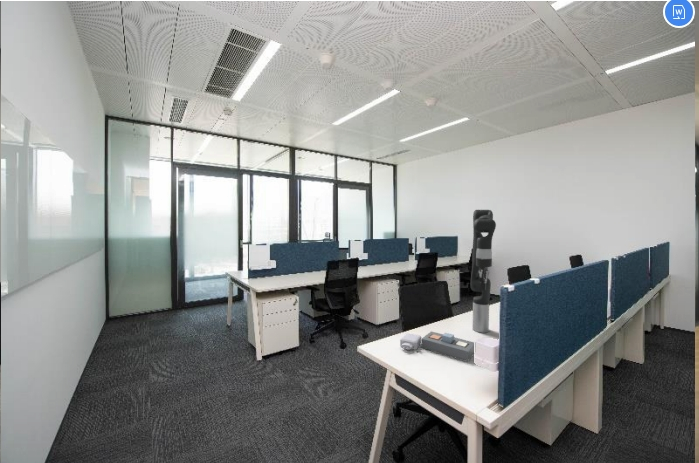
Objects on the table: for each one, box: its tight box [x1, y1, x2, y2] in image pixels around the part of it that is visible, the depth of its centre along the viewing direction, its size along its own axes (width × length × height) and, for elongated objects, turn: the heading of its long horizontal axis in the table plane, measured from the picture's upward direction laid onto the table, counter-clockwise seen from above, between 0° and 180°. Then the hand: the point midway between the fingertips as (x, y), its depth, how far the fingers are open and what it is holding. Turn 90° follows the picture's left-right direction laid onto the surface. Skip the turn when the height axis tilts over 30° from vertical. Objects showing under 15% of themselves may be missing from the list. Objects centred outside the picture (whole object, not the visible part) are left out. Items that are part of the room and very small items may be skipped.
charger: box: [399, 332, 422, 351], centre depth 154 cm, size 5×9×15 cm
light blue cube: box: [442, 332, 455, 344], centre depth 151 cm, size 5×5×5 cm
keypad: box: [420, 330, 475, 362], centre depth 151 cm, size 13×24×5 cm, turn 51°
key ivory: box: [456, 341, 468, 348], centre depth 147 cm, size 5×5×5 cm
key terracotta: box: [429, 335, 441, 340], centre depth 155 cm, size 5×5×5 cm
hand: (483, 289), depth 150 cm, fingers closed
